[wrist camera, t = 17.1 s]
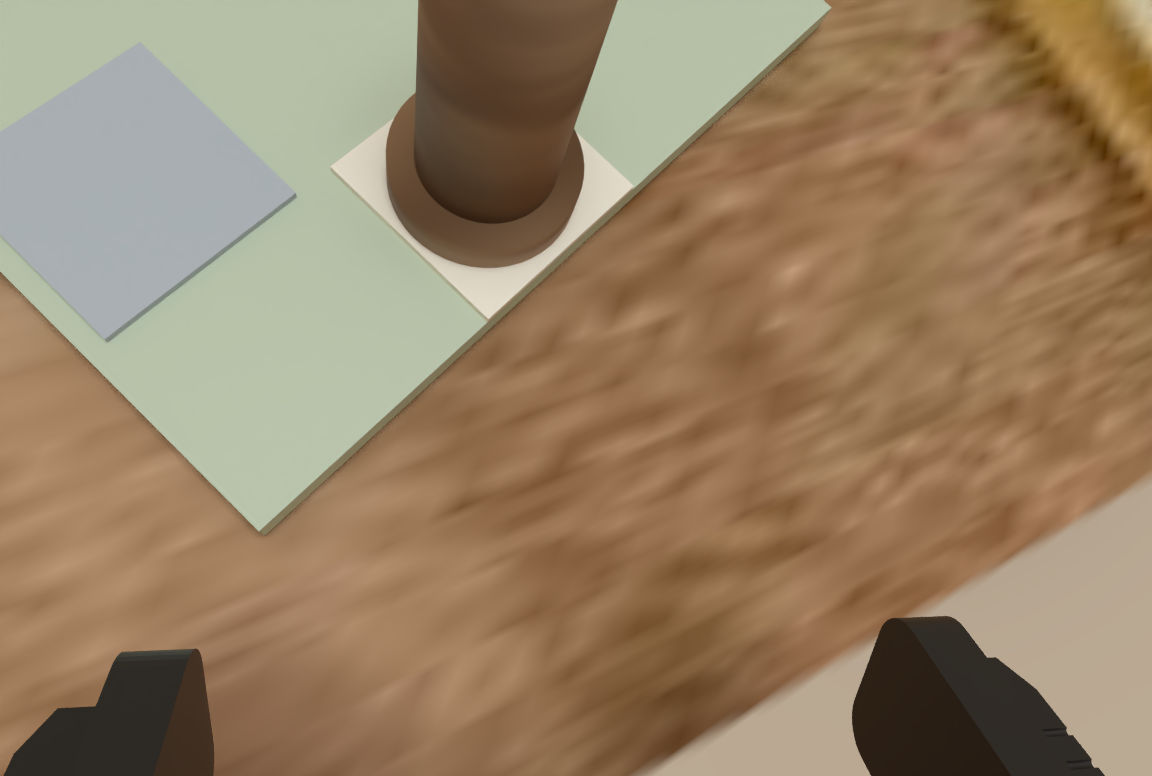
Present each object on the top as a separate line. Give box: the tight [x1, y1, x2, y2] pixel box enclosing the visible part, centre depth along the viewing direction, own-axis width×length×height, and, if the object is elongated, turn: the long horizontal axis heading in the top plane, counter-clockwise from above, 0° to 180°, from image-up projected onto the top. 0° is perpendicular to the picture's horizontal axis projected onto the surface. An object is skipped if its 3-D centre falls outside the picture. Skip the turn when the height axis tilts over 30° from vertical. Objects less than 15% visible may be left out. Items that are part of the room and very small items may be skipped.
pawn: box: [386, 0, 618, 268], centre depth 15 cm, size 4×4×11 cm
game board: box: [0, 0, 831, 536], centre depth 21 cm, size 14×20×1 cm
